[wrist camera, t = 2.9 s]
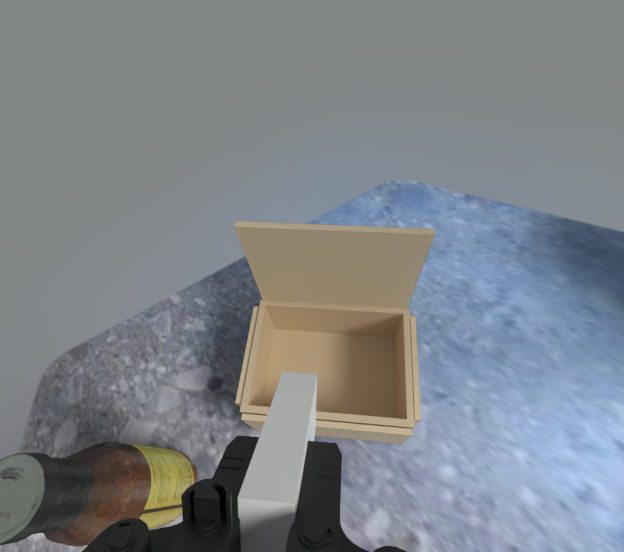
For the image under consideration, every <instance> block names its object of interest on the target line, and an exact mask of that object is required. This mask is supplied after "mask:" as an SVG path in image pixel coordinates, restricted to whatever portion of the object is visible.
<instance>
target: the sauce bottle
mask: <svg viewBox="0 0 624 552" xmlns="http://www.w3.org/2000/svg"><path fill="white" fill-rule="evenodd" d="M197 478H198V477H197V470H196V468H195V466H194V464H193V463H192V461H191V460H190V459H189V458H188V457H187V456H186V455H185V454H183V453H180V452H178V451H176V450H172V449H166V448H158V447H150V446H143V445H136V444H128V443H120V442H107V443H101V444H97V445H94V446H91V447H89V448H86V449H84V450H82V451H79V452H77V453H75V454H73V455H70V456H68V457H66V458H50V457H49V456H48V455H46V454H43V453H18V454H14V455H11V456H8V457H5V458H3V459H2V460H0V545H4V544H9V543H14V542H18V541H20V540H23V539H25V538H27V537H29V536H30V535H32V534H36V533H44V535H45V536H46V538H47V539H49V540H51V541H53V542H57V543H61V544H65V545H69V546H83V545H89V544H90V543H91V542H92V541H93V540H94V539H95V538H96V537H97V536H98V535H99V534H100V533H101V532H102V531H104V530H105V529H106V528H107V527H109V526H110V525H111V524H114V523H116V522H118V521H120V520H123V519H128V518H136V519H141V520H142V521H144V522H145V523H146V524H147V526H148V529H151V528H154V527H158V526H161V525H164V524H167V523H169V522H172V521H173V520H174V519H175V518H177V517H178V516H180V515H181V514H182V501H181V495H182V494H183V493H184V492H185V490H186V489H187V488H188V487H190V486H191V485H193V484H194V483H195V482H197Z"/></svg>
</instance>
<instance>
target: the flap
mask: <svg viewBox="0 0 624 552" xmlns="http://www.w3.org/2000/svg"><path fill="white" fill-rule="evenodd" d="M235 230H236V232H237V235H238V237H239V240H240V242H241V245H242V247H243V250H244V253H245V255H246V258H247V261H248V263H249V266H250V268H251V271H252V274H253V276H254V279H255V281H256V284H257V286H258V289H259V292H260V294H261V297H262V299H263V300H269V301H286V302H302V303H319V304H336V305H352V306H369V307H386V308H402V309H407V307H408V304H409V301H410V299H411V296H412V294H413V291H414V288H415V286H416V283H417V281H418V278H419V275H420V273H421V270H422V268H423V265H424V262H425V260H426V257H427V255H428V252H429V249H430V247H431V244H432V242H433V239H434V236H435V229H421V228H395V227H369V226H343V225H318V224H292V223H266V222H264V223H263V222H240V221H236V222H235Z"/></svg>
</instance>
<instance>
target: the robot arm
mask: <svg viewBox="0 0 624 552" xmlns="http://www.w3.org/2000/svg"><path fill="white" fill-rule="evenodd" d="M316 398H317V374H310V373H296V372H282V375H281V378H280V381H279V384H278V386H277V389H276V392H275V395H274V398H273V400H272V403H271V406H270V409H269V412H268V414H267V417H266V420H265V423H264V425H263V428H262V431H261V434H260V437H249V436H237V437H236V438H235V439H234V440H233V441H232V442H231V443H230V444H228V446H227V448H226V450H225V452H224V454H223V457H222V459H221V461H220V463H219V465H218V469H216V471H215V474H214V476H213V478H212V479H204V480H201V481H198V482H195V483H194V484H193V485H191V486H190V487H188V488H187V489H186V490H185V492H184V493H183V494H182V495H181V501H182V513H183V522H181V523H179V524H177V525H173V526H170V527H165V528H160V529H155V530H150V531H149V529H148V526H147V524H146V523H145V522H144V521H142V520H141V519H136V518H128V519H123V520H120V521H118V522H116V523H114V524H111V525H110V526H109V527H107V528H106V529H105V530H104V531H102V532H101V533H100V534H99V535H98V536H97V537H96V538H95V539H94V540H93V541H92V542H91V543H90V544H89V545H88V546H87V547H86V548H85V549H84V550H83V551H82V552H369V551H366V550H364V549H362V548H360V547H358V546H357V545H355V544H353V543H352V542H351V541H350V540H349V539H348V538H347V537H346V535H345V534H344V532H343V530H342V528H341V525H340V493H341V462H342V454H341V452H340V450H339V448H338V446H337V444H336V443H327V442H316V441H314V437H315V430H316ZM374 552H406V551H404V550H402V549H399V548H397V547H392V546H384V547H381V548H378V549H376V550H375V551H374Z"/></svg>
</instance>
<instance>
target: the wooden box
mask: <svg viewBox="0 0 624 552" xmlns="http://www.w3.org/2000/svg"><path fill="white" fill-rule="evenodd" d="M282 372H296V373H310V374H317V398H316V430H315V436H323V437H333V438H344V439H354V440H365V441H375V442H385V443H396V444H401V443H402V442H404V441H405V440H406V439H408V438H409V437H411V436H412V429H413V428H415V424H417V423H418V422H419V421H420V420H421V410H420V391H419V372H418V353H417V334H416V316H410V311H409V308H407V309H402V308H386V307H369V306H352V305H336V304H319V303H302V302H286V301H269V300H260V305H259V306H254V309H253V314H252V319H251V324H250V329H249V334H248V340H247V345H246V350H245V355H244V360H243V365H242V370H241V376H240V381H239V386H238V391H237V396H236V401H235V403H236V404H237V405H238V406H239V407H240V412H241V413H242V417H241V420H243V421H244V422H245V423H247V424H248V425H249V426H251V427H252V428H253V429H255V430H260V431H262V428H263V425H264V423H265V420H266V417H267V414H268V412H269V409H270V406H271V403H272V400H273V398H274V395H275V392H276V389H277V386H278V384H279V381H280V378H281V375H282Z"/></svg>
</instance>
